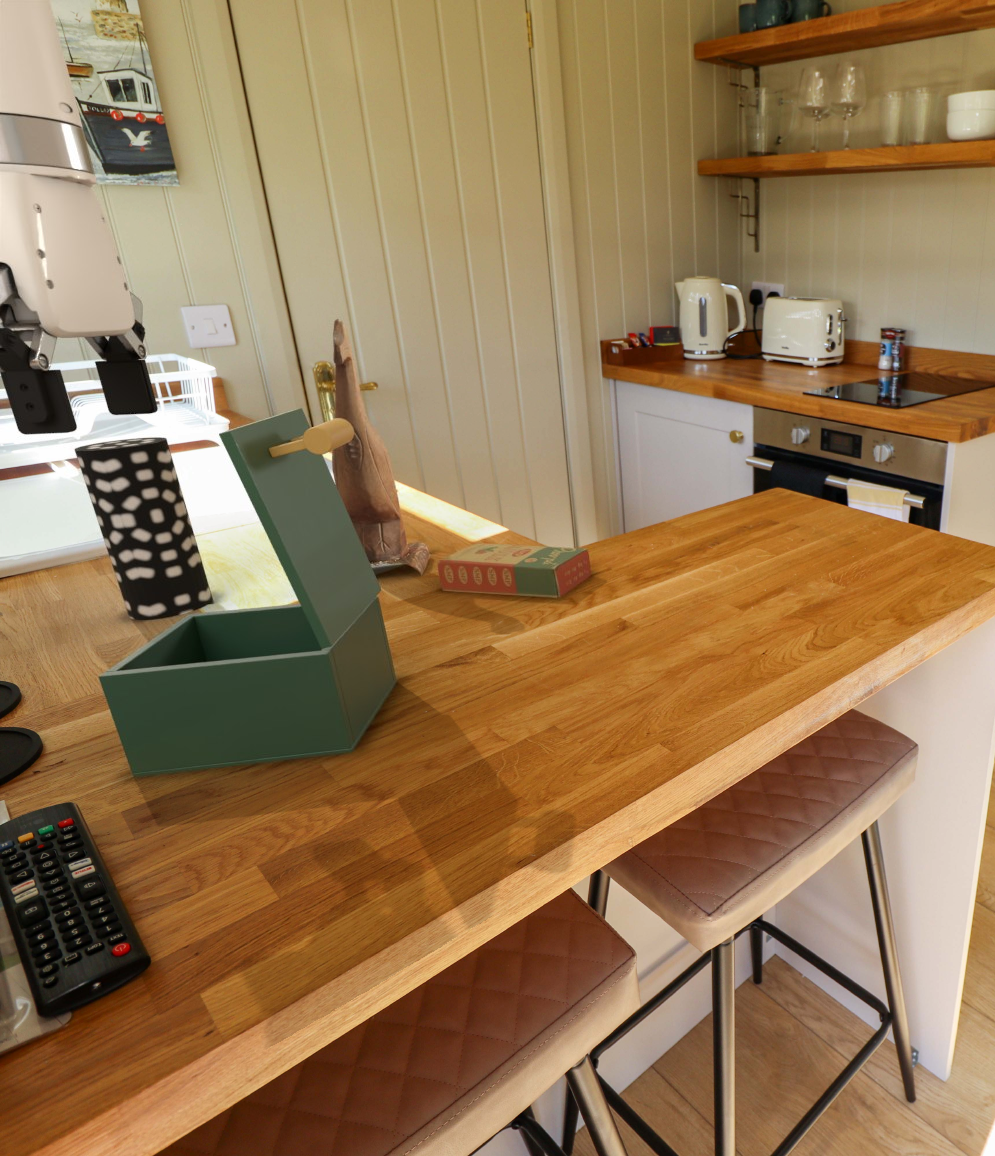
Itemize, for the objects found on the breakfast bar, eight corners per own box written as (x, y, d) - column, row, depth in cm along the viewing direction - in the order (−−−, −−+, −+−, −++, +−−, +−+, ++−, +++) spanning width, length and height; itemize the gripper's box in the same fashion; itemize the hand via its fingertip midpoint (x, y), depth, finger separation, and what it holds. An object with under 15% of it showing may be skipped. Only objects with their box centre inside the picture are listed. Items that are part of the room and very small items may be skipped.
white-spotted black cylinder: (118, 615, 97) (63, 447, 91) (196, 594, 104) (149, 435, 97) (146, 628, 93) (90, 452, 86) (226, 605, 99) (179, 439, 93)
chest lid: (217, 433, 55) (296, 413, 55) (292, 410, 67) (357, 393, 67) (321, 649, 60) (392, 629, 61) (373, 592, 72) (432, 576, 73)
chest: (134, 782, 62) (97, 676, 59) (215, 705, 73) (188, 613, 70) (353, 757, 64) (328, 653, 61) (398, 685, 75) (378, 596, 72)
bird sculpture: (329, 592, 102) (265, 322, 91) (343, 566, 112) (287, 321, 102) (425, 579, 105) (374, 317, 94) (430, 554, 115) (384, 316, 105)
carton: (482, 572, 107) (477, 540, 105) (593, 578, 102) (589, 545, 101) (441, 593, 99) (435, 560, 98) (559, 601, 95) (555, 566, 93)
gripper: (44, 176, 61) (110, 410, 66) (-171, 131, 45) (-60, 445, 50) (155, 175, 62) (210, 406, 67) (-17, 131, 46) (75, 439, 51)
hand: (95, 422), depth 59 cm, fingers open, 9 cm apart
